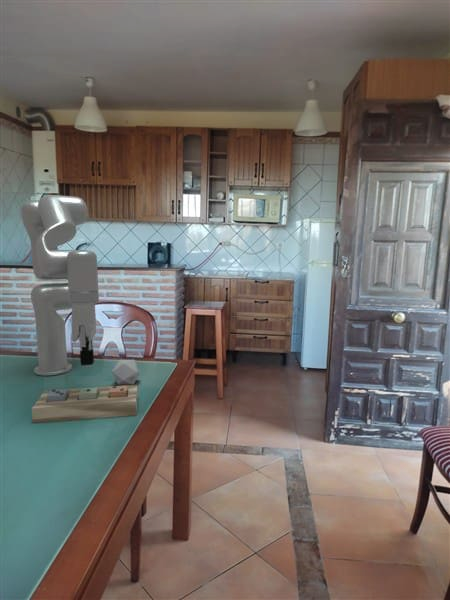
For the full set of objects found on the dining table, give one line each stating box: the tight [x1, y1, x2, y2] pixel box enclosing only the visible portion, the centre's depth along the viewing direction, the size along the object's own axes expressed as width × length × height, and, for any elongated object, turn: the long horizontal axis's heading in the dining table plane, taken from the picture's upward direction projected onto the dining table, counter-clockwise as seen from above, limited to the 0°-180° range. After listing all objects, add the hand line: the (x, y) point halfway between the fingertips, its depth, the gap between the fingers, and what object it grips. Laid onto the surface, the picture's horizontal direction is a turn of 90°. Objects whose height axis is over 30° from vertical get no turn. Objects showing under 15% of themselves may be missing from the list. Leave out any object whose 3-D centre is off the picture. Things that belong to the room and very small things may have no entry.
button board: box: [31, 384, 139, 424], centre depth 106 cm, size 12×26×4 cm, turn 101°
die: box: [111, 359, 141, 386], centre depth 126 cm, size 8×9×10 cm
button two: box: [109, 385, 128, 398], centre depth 107 cm, size 4×4×3 cm
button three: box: [47, 388, 69, 402], centre depth 104 cm, size 4×4×3 cm
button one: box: [79, 386, 98, 400], centre depth 106 cm, size 4×4×3 cm
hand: (87, 363), depth 104 cm, fingers closed
